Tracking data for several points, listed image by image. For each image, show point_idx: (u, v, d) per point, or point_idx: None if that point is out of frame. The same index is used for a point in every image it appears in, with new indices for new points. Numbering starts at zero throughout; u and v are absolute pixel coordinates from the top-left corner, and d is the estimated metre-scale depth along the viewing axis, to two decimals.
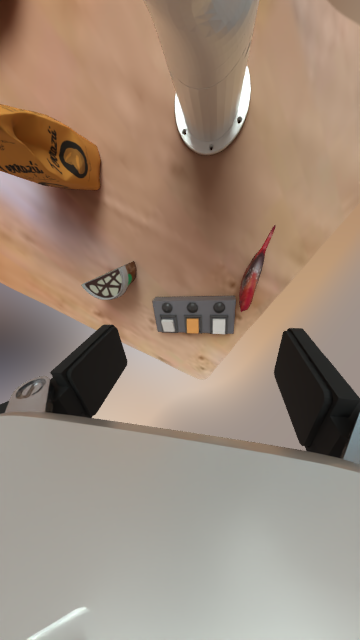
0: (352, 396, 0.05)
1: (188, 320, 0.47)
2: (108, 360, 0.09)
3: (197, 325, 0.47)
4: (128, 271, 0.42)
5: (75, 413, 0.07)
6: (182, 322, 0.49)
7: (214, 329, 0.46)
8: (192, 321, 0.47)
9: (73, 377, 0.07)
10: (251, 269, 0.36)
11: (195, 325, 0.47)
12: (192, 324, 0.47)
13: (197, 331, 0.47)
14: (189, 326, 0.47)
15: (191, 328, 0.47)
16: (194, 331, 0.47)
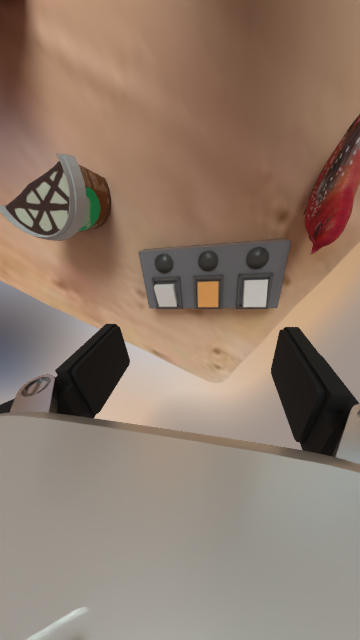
0: (344, 392, 0.05)
1: (200, 284, 0.27)
2: (111, 359, 0.09)
3: (216, 293, 0.27)
4: (88, 182, 0.22)
5: (79, 411, 0.07)
6: (189, 290, 0.29)
7: (246, 299, 0.26)
8: (207, 286, 0.27)
9: (77, 375, 0.07)
10: (349, 145, 0.16)
11: (213, 293, 0.27)
12: (207, 291, 0.27)
13: (216, 303, 0.27)
14: (202, 294, 0.27)
15: (205, 298, 0.27)
16: (211, 304, 0.27)
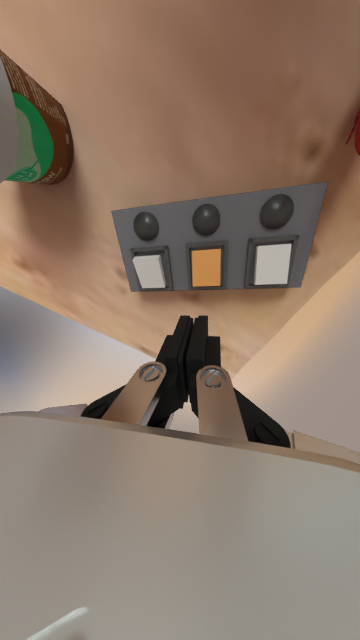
0: (199, 358, 0.07)
1: (196, 254, 0.20)
2: None
3: (218, 265, 0.19)
4: (24, 89, 0.14)
5: (179, 399, 0.08)
6: (182, 265, 0.22)
7: (260, 273, 0.19)
8: (206, 256, 0.19)
9: None
10: None
11: (213, 266, 0.20)
12: (205, 264, 0.20)
13: (217, 281, 0.20)
14: (198, 268, 0.20)
15: (203, 274, 0.20)
16: (210, 281, 0.20)
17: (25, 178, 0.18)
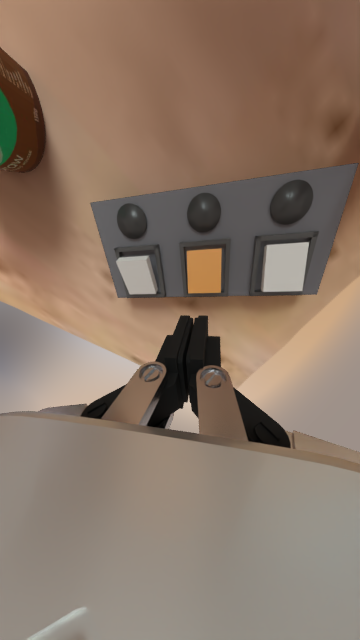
0: (199, 357, 0.07)
1: (192, 254, 0.16)
2: None
3: (218, 268, 0.16)
4: None
5: (179, 399, 0.08)
6: (175, 267, 0.18)
7: (269, 278, 0.15)
8: (203, 257, 0.16)
9: None
10: None
11: (213, 269, 0.16)
12: (203, 266, 0.16)
13: (217, 287, 0.17)
14: (195, 272, 0.17)
15: (200, 279, 0.17)
16: (209, 288, 0.17)
17: None
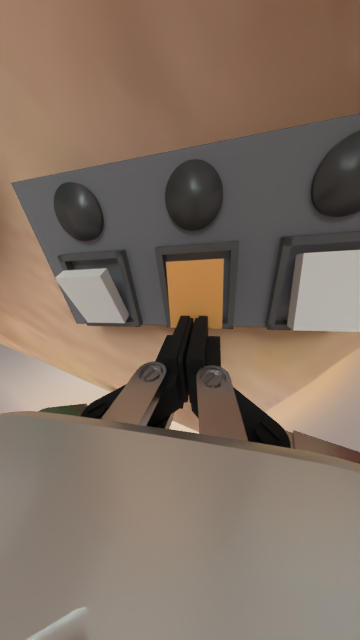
0: (199, 357, 0.07)
1: (175, 268, 0.10)
2: None
3: (218, 291, 0.10)
4: None
5: (179, 399, 0.08)
6: (153, 285, 0.12)
7: (305, 308, 0.09)
8: (194, 272, 0.10)
9: None
10: None
11: (210, 293, 0.10)
12: (194, 287, 0.10)
13: (217, 320, 0.10)
14: (181, 296, 0.10)
15: (189, 307, 0.10)
16: None
17: None
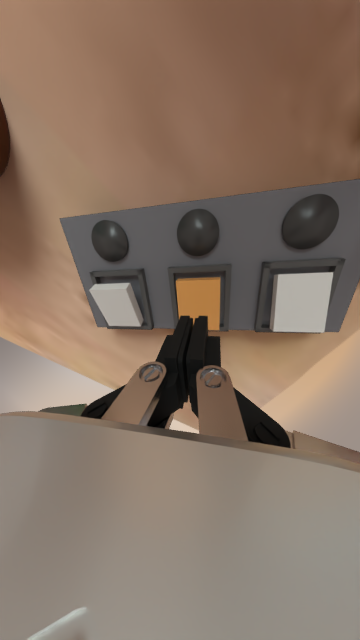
0: (199, 357, 0.07)
1: (182, 286, 0.13)
2: None
3: (216, 303, 0.13)
4: None
5: (179, 399, 0.08)
6: (164, 295, 0.15)
7: (281, 315, 0.12)
8: (197, 289, 0.13)
9: None
10: None
11: (209, 304, 0.13)
12: (197, 300, 0.13)
13: (215, 324, 0.13)
14: (187, 306, 0.13)
15: (194, 314, 0.13)
16: None
17: None
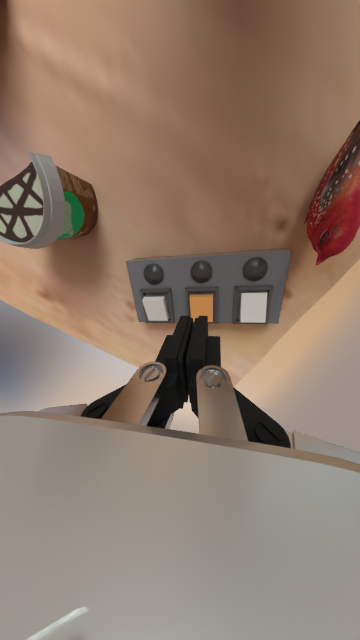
0: (199, 357, 0.07)
1: (193, 299, 0.24)
2: None
3: (210, 308, 0.24)
4: (69, 186, 0.20)
5: (179, 399, 0.08)
6: (182, 303, 0.27)
7: (244, 313, 0.24)
8: (201, 301, 0.24)
9: None
10: (356, 145, 0.14)
11: (207, 308, 0.24)
12: (201, 306, 0.24)
13: (210, 318, 0.25)
14: (195, 309, 0.25)
15: (199, 313, 0.25)
16: None
17: (60, 238, 0.24)
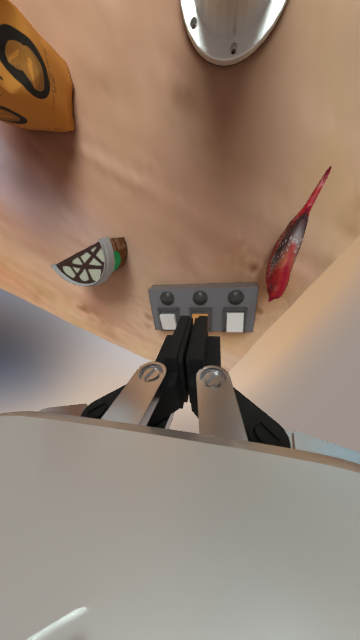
0: (199, 357, 0.07)
1: (194, 318, 0.35)
2: None
3: None
4: (115, 247, 0.31)
5: (179, 399, 0.08)
6: None
7: (229, 326, 0.35)
8: None
9: None
10: (287, 239, 0.25)
11: None
12: None
13: None
14: None
15: None
16: None
17: None
